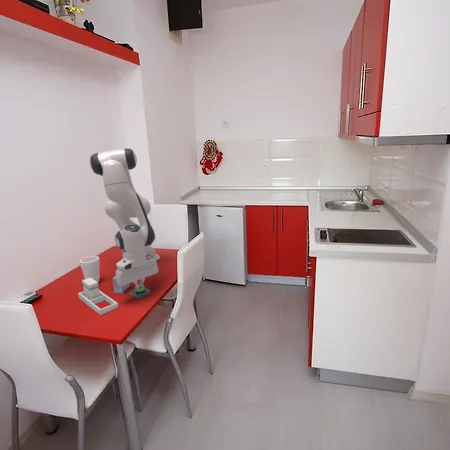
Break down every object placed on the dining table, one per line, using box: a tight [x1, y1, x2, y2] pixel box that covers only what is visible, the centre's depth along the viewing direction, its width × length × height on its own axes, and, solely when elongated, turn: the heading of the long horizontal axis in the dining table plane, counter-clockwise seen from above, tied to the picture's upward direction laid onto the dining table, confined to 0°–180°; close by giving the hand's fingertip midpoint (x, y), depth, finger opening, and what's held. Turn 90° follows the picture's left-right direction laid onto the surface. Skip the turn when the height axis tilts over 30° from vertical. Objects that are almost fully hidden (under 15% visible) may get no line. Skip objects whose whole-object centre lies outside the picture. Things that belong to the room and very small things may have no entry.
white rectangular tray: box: [77, 289, 119, 316], centre depth 147 cm, size 8×23×3 cm, turn 45°
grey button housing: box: [129, 287, 152, 300], centre depth 153 cm, size 7×7×3 cm
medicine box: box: [112, 275, 131, 294], centre depth 158 cm, size 8×4×9 cm, turn 168°
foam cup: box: [79, 255, 101, 283], centre depth 168 cm, size 10×9×13 cm
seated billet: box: [81, 278, 100, 300], centre depth 150 cm, size 4×8×9 cm, turn 45°
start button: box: [134, 285, 146, 293], centre depth 152 cm, size 4×4×4 cm
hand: (139, 287), depth 152 cm, fingers closed, pressing on start button
